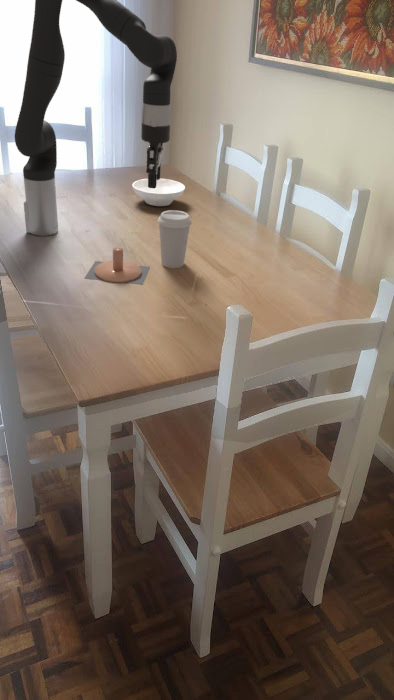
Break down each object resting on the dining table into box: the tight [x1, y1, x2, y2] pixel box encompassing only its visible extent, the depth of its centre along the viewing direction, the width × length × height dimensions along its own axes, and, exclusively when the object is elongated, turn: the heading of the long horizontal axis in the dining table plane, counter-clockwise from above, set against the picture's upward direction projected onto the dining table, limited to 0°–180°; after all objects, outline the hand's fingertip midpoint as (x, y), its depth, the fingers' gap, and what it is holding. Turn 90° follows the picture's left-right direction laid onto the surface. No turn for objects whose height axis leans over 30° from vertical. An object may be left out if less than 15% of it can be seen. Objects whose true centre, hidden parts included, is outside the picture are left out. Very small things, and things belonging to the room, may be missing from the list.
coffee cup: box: [157, 209, 193, 269], centre depth 164 cm, size 10×10×15 cm
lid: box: [94, 247, 142, 283], centre depth 158 cm, size 13×13×7 cm
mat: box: [84, 260, 151, 285], centre depth 160 cm, size 16×12×1 cm
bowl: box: [132, 178, 186, 207], centre depth 213 cm, size 20×20×7 cm
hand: (154, 183), depth 159 cm, fingers open, 8 cm apart
